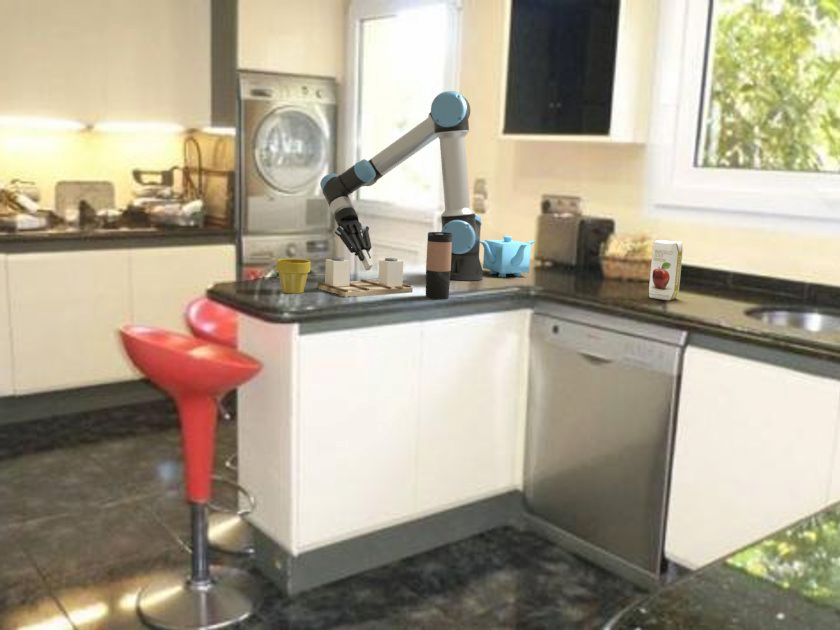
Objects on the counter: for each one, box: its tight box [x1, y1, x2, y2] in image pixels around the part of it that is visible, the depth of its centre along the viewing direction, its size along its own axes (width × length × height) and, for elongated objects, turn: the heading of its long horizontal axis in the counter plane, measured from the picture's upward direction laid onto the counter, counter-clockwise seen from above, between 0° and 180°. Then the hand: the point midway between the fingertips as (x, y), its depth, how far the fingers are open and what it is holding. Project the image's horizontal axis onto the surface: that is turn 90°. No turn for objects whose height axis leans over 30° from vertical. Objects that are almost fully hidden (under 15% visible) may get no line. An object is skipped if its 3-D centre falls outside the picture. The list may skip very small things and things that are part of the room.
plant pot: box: [276, 258, 311, 294], centre depth 258 cm, size 10×10×10 cm
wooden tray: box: [315, 278, 414, 298], centre depth 267 cm, size 18×25×2 cm
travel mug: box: [425, 231, 452, 300], centre depth 258 cm, size 8×8×20 cm
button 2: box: [377, 257, 404, 287], centre depth 269 cm, size 5×6×9 cm
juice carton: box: [648, 239, 684, 301], centre depth 275 cm, size 8×9×19 cm
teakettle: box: [480, 235, 536, 278], centre depth 314 cm, size 19×19×15 cm
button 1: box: [324, 256, 351, 287], centre depth 264 cm, size 5×6×9 cm
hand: (369, 267), depth 279 cm, fingers closed
